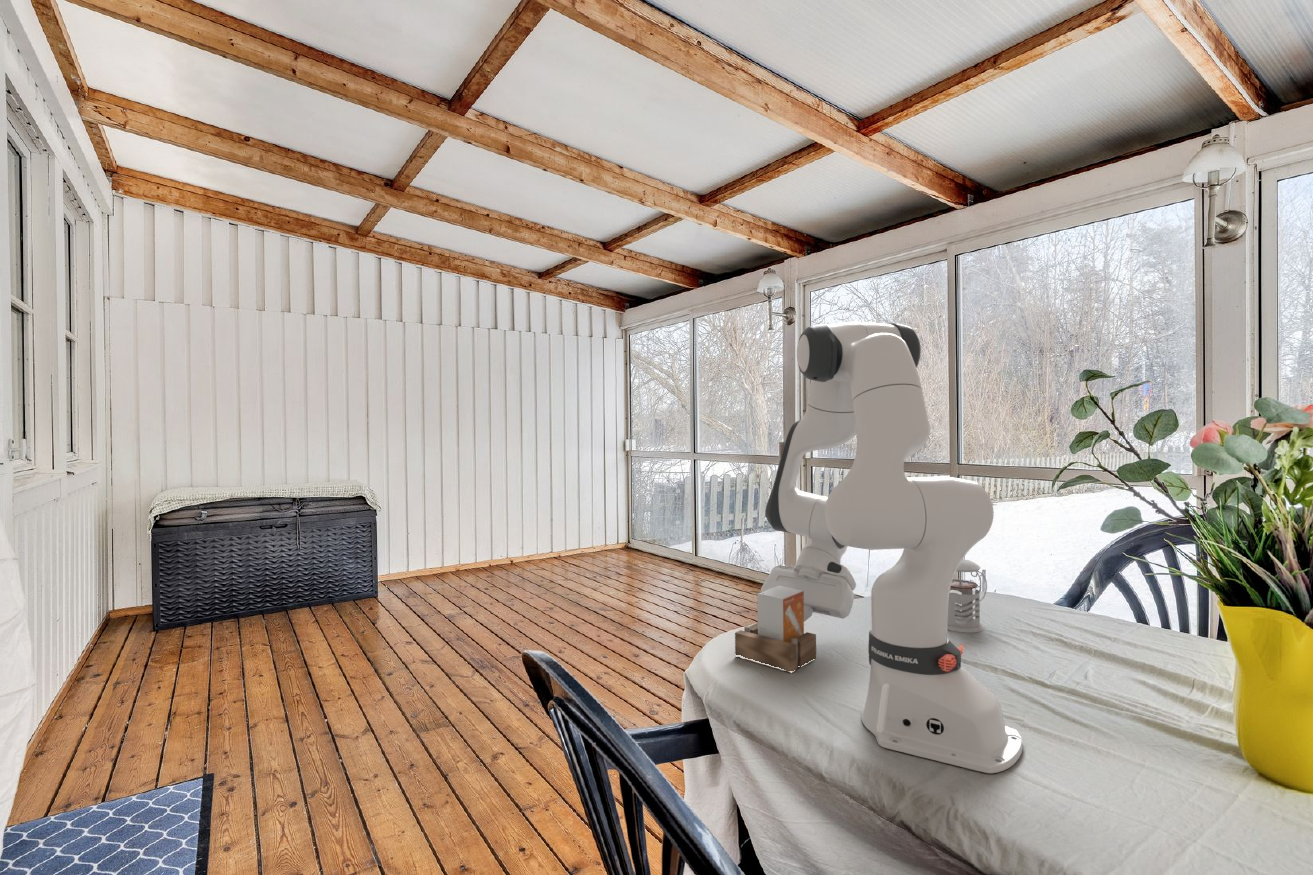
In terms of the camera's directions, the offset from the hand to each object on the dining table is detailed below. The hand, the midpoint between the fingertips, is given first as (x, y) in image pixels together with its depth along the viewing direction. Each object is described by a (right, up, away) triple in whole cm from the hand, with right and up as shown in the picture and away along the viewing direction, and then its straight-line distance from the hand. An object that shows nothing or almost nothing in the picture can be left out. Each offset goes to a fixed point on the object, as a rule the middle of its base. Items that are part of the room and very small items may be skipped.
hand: (792, 625), depth 134 cm
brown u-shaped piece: (-5, -5, -5) cm, 8 cm away
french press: (+42, -4, +13) cm, 44 cm away
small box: (-3, -5, -3) cm, 7 cm away
